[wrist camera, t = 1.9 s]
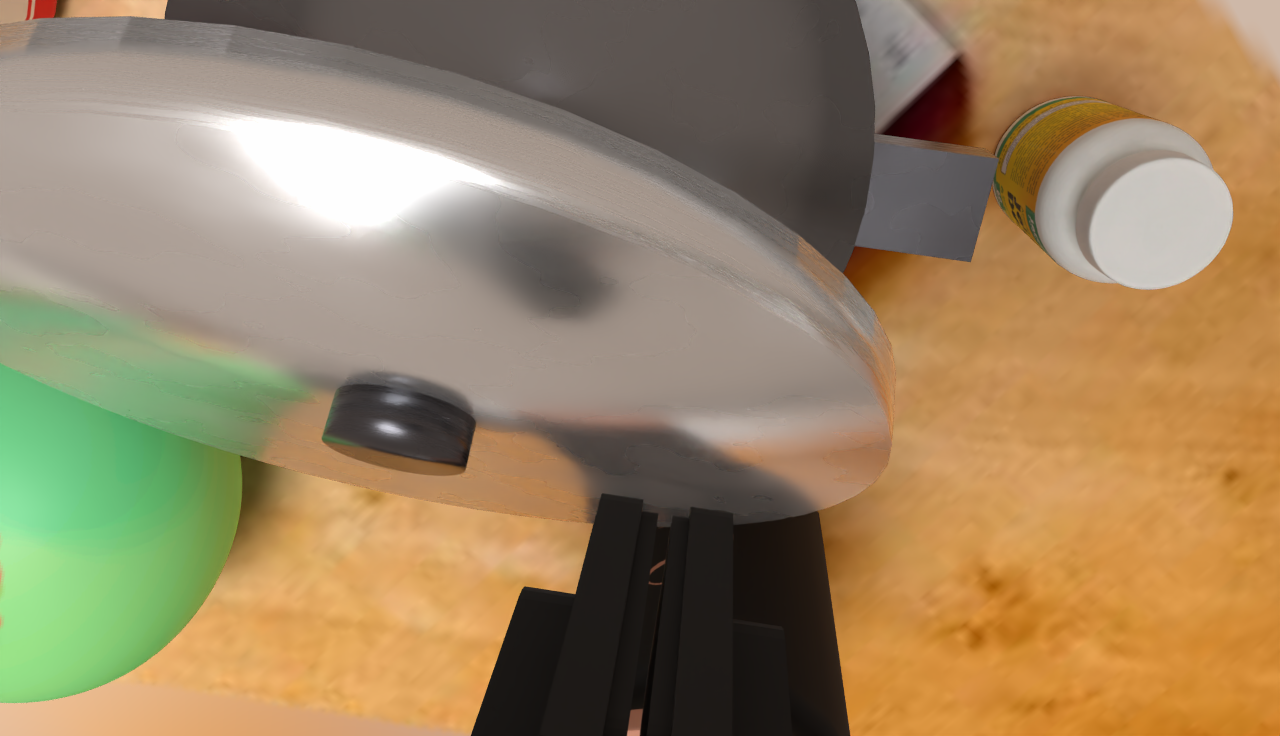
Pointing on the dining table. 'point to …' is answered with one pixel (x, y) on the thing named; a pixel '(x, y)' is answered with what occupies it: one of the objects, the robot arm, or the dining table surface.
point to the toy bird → (100, 538)
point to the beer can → (26, 10)
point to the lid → (416, 281)
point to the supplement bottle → (1112, 193)
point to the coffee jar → (773, 616)
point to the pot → (690, 98)
